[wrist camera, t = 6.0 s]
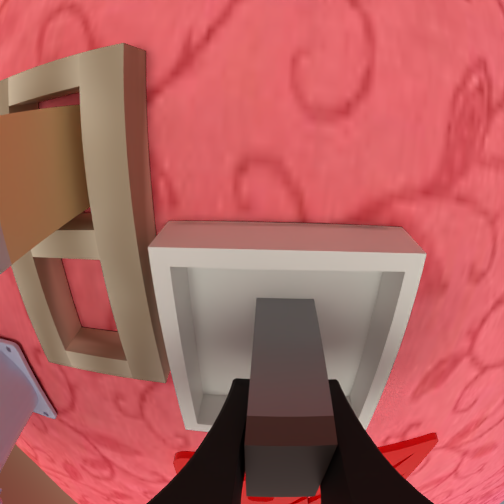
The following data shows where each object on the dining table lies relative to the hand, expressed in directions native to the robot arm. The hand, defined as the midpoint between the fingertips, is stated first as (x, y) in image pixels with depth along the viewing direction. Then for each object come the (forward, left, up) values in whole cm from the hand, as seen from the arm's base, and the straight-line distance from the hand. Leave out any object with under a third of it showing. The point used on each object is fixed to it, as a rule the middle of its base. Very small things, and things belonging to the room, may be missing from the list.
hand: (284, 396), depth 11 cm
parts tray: (0, 0, -4) cm, 4 cm away
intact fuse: (-9, +8, -4) cm, 13 cm away
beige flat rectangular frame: (-9, +5, -4) cm, 11 cm away
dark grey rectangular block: (0, 0, -4) cm, 4 cm away
